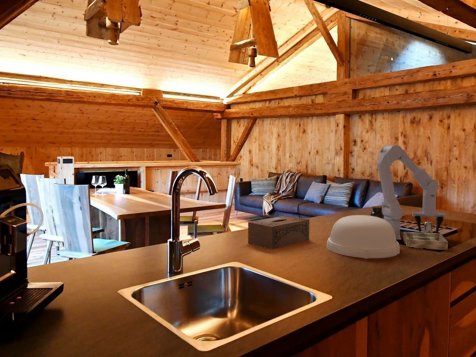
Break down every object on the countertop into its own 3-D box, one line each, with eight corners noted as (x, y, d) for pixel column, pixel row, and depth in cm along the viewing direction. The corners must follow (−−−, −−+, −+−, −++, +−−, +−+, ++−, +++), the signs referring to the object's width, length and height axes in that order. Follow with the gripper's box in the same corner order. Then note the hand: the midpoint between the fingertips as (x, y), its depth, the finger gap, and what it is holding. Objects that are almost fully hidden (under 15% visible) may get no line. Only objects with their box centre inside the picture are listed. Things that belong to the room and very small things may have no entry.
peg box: (406, 247, 177) (406, 239, 176) (403, 239, 192) (403, 231, 192) (447, 250, 172) (447, 241, 172) (440, 241, 187) (440, 234, 187)
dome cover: (406, 261, 156) (408, 225, 155) (326, 257, 162) (327, 222, 161) (392, 242, 188) (393, 211, 186) (326, 239, 194) (326, 209, 193)
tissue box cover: (285, 235, 202) (285, 215, 201) (309, 240, 191) (309, 219, 190) (248, 243, 184) (248, 222, 184) (271, 249, 174) (271, 226, 173)
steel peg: (424, 237, 196) (425, 223, 195) (423, 235, 199) (423, 221, 199) (432, 237, 195) (433, 223, 194) (431, 236, 198) (431, 222, 198)
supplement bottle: (381, 228, 217) (382, 206, 216) (385, 231, 210) (385, 208, 209) (368, 228, 218) (369, 205, 217) (371, 230, 211) (372, 207, 210)
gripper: (413, 204, 194) (413, 232, 195) (447, 205, 190) (446, 234, 191) (412, 202, 201) (411, 229, 202) (444, 203, 197) (443, 231, 198)
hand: (428, 231), depth 197 cm, fingers open, 7 cm apart
